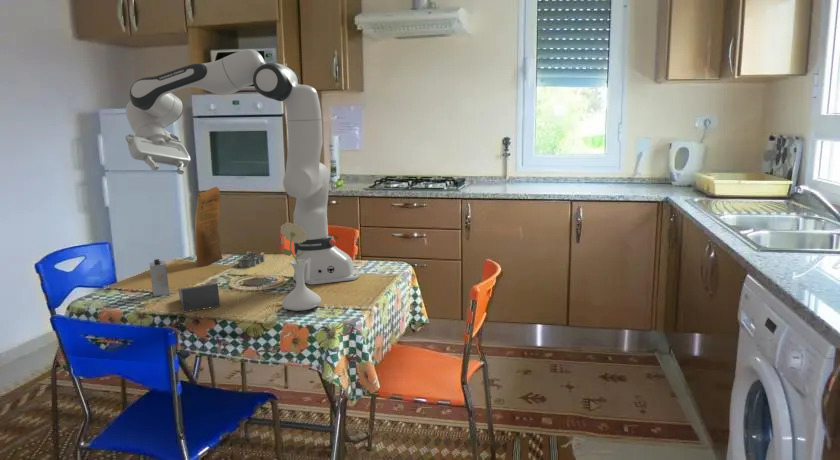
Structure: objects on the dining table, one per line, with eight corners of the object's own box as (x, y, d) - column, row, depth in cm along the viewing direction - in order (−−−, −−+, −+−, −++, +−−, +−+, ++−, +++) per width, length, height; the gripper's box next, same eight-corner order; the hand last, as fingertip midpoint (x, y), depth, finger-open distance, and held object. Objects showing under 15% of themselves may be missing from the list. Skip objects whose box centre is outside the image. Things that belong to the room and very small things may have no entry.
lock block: (153, 292, 203) (148, 259, 201) (168, 290, 205) (164, 257, 202) (154, 297, 198) (149, 262, 196) (169, 295, 200) (165, 260, 198)
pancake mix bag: (232, 256, 250) (225, 186, 244) (206, 268, 231) (198, 193, 226) (216, 255, 251) (209, 186, 245) (189, 268, 233) (181, 193, 227)
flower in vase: (330, 306, 183) (324, 221, 178) (298, 316, 175) (291, 228, 170) (302, 298, 192) (296, 217, 187) (270, 308, 183) (263, 223, 178)
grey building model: (250, 260, 243) (249, 250, 242) (268, 261, 241) (267, 250, 240) (235, 267, 233) (234, 256, 232) (253, 268, 231) (252, 257, 230)
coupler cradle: (179, 299, 194) (177, 278, 193) (213, 294, 198) (211, 273, 197) (184, 312, 182) (181, 289, 181) (219, 306, 186) (217, 284, 185)
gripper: (128, 126, 196) (144, 159, 191) (184, 138, 213) (200, 168, 208) (118, 140, 198) (134, 173, 193) (174, 151, 215) (189, 181, 210)
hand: (168, 171), depth 201 cm, fingers open, 8 cm apart
